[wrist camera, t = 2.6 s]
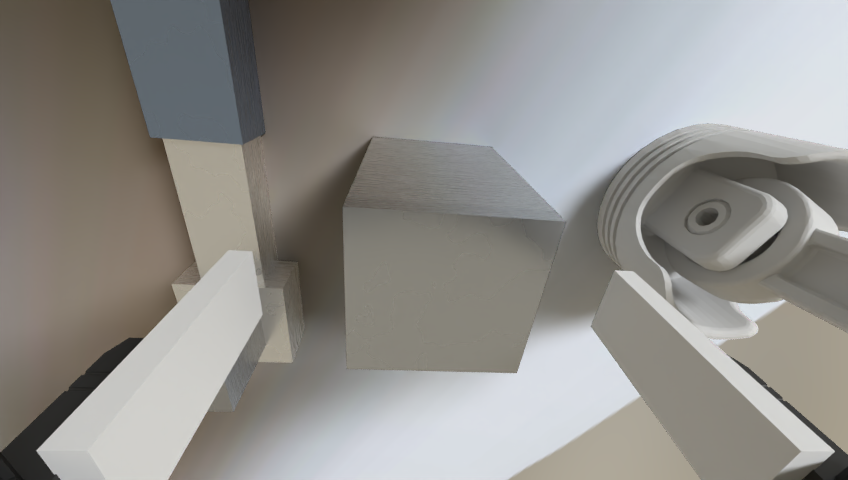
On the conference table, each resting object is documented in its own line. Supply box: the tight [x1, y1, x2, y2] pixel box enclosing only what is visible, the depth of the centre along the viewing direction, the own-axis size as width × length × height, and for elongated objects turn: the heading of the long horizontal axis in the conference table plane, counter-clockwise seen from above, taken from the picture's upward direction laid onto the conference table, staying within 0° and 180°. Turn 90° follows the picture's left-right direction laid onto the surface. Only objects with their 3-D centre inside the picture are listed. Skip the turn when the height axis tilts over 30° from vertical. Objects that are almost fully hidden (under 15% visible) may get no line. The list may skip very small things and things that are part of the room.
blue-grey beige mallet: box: [110, 0, 305, 412], centre depth 15 cm, size 24×6×8 cm, turn 175°
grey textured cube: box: [343, 137, 566, 373], centre depth 15 cm, size 7×7×10 cm
